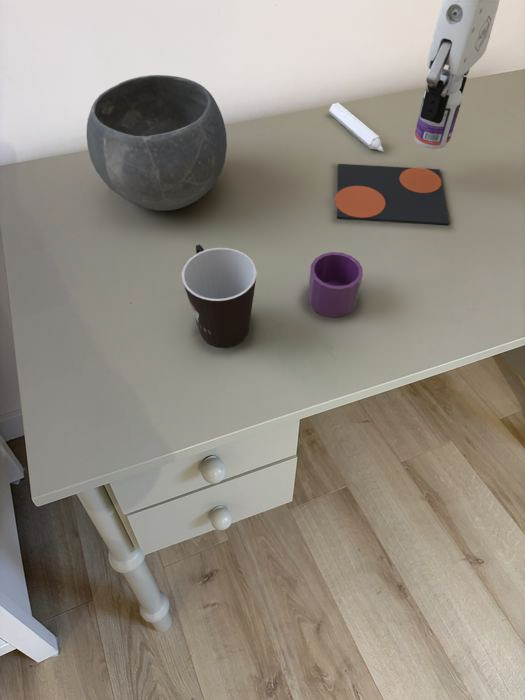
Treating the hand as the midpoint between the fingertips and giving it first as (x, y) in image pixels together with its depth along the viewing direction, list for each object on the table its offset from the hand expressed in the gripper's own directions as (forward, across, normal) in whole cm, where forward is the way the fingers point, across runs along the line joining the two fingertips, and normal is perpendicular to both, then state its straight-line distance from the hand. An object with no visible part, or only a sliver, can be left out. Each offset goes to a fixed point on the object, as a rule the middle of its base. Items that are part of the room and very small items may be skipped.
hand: (439, 109), depth 78 cm
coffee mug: (+13, -42, +8) cm, 45 cm away
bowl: (+13, -26, +32) cm, 43 cm away
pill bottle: (+5, 0, 0) cm, 5 cm away
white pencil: (+13, +7, +16) cm, 21 cm away
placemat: (+13, -6, +3) cm, 14 cm away
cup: (+13, -31, -2) cm, 33 cm away
